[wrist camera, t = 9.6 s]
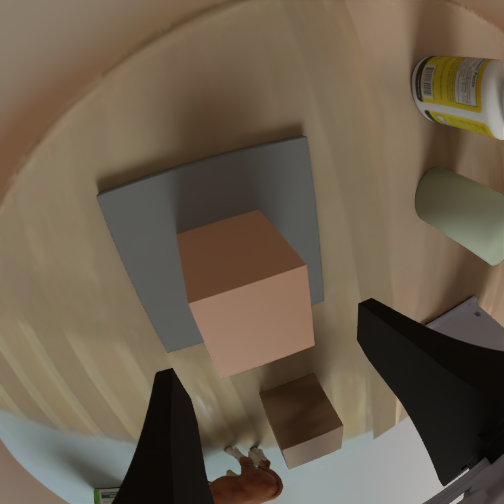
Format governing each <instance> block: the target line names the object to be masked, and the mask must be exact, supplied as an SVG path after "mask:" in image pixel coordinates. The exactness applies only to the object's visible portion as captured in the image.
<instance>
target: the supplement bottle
mask: <svg viewBox="0 0 504 504" xmlns="http://www.w3.org/2000/svg"><path fill="white" fill-rule="evenodd" d="M412 93H413V97H414V100H415V103H416V105H417V107H418V108H419V110H420V112H421V113H422V114H423V115H424V116H425V117H426V118H427V119H429V120H430V121H433V122H436V123H441V124H445V125H449V126H453V127H457V128H461V129H465V130H468V131H472V132H475V133H479V134H483V135H486V136H489V137H493V138H496V139H499V140H504V61H501V60H495V59H485V58H472V57H451V56H430V57H425V58H423V59H422V60H421V61H420V62H419V63H418V64H417V66H416V67H415V69H414V72H413V76H412Z"/></svg>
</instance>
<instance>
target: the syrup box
mask: <svg viewBox="0 0 504 504" xmlns="http://www.w3.org/2000/svg"><path fill="white" fill-rule="evenodd" d="M119 489H120V488H113V489H95V490H94V503H95V504H111V503H112V501H113V500H114V498H115V496H116V494H117V493H118V491H119Z"/></svg>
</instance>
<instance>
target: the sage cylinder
mask: <svg viewBox="0 0 504 504" xmlns="http://www.w3.org/2000/svg"><path fill="white" fill-rule="evenodd" d="M415 208H416V212H417V214H418V216H419V218H420V219H422V220H423V221H425V222H426V223H428V224H430V225H431V226H433V227H435V228H436V229H438V230H439V231H441V232H443V233H444V234H446V235H447V236H449V237H450V238H452V239H453V240H455V241H457V242H458V243H460V244H461V245H463V246H464V247H466V248H467V249H469V250H470V251H472V252H473V253H474V254H476V255H477V256H479V257H480V258H482V259H483V260H485V261H486V262H487V263H489V264H490V265H497V264H499V263H500V262H501V261H502V260H503V259H504V195H503V194H501V193H499V192H497V191H495V190H493V189H491V188H489V187H487V186H485V185H482V184H480V183H478V182H476V181H474V180H471V179H469V178H467V177H464V176H462V175H460V174H457V173H455V172H453V171H450V170H448V169H445V168H443V167H435V168H432V169H430V170H429V171H428V172H427V173H426V174H425V175H424V176H423V178H422V179H421V181H420V183H419V185H418V188H417V191H416V196H415Z"/></svg>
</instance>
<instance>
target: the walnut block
mask: <svg viewBox="0 0 504 504" xmlns="http://www.w3.org/2000/svg"><path fill="white" fill-rule="evenodd" d="M259 394H260V397H261V400H262V403H263V406H264V409H265V412H266V415H267V418H268V420H269V423H270V425H271V428H272V430H273V433H274V435H275V438H276V440H277V443H278V445H279V448H280V450H281V452H282V455H283V457H284V460H285V462H286V464H287V467H288V469H291V468H294V467H297V466H299V465H302V464H305V463H307V462H310V461H312V460H315V459H317V458H320V457H322V456H324V455H327V454H329V453H331V452H334V451H336V450H338V449H340V448H341V445H342V436H343V426H344V425H343V424H342V422H341V420H340V418H339V417H338V415H337V413H336V411H335V410H334V408H333V406H332V404H331V403H330V401H329V399H328V397H327V396H326V394H325V392H324V390H323V389H322V387H321V385H320V383H319V382H318V380H317V378H316V376H315V375H314V373H312V374H310V375H307V376H305V377H302V378H300V379H297V380H294V381H292V382H289V383H286V384H284V385H281V386H278V387H276V388H273V389H270V390H267V391H264V392H262V393H259Z"/></svg>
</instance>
